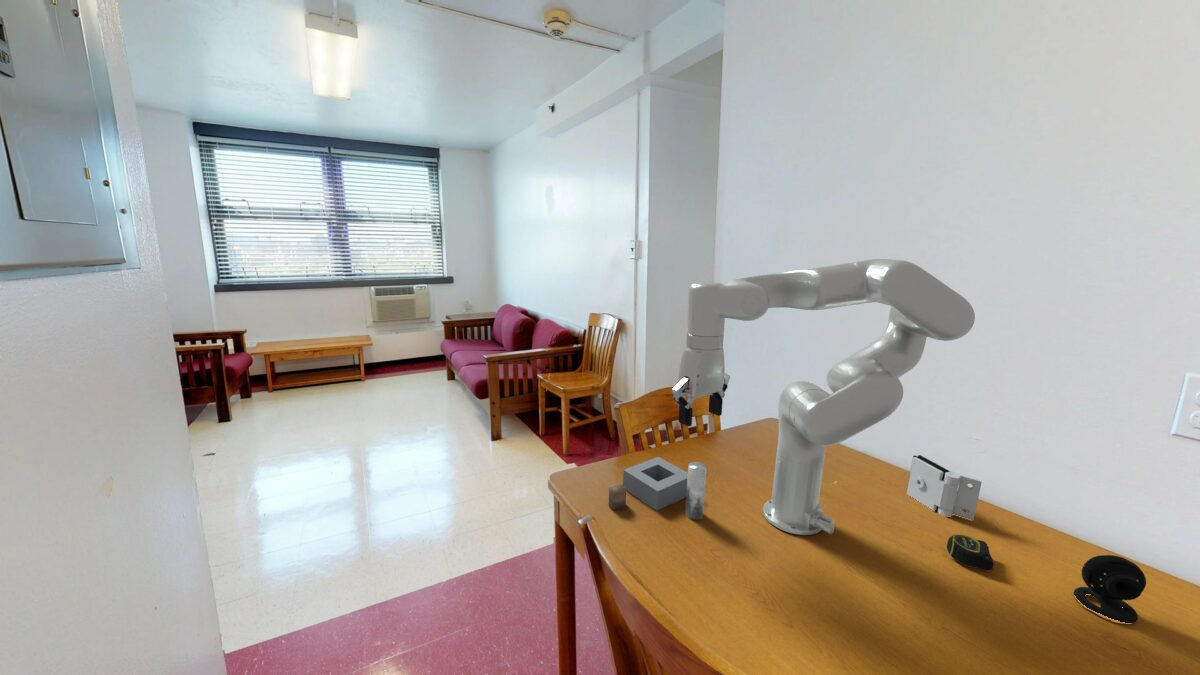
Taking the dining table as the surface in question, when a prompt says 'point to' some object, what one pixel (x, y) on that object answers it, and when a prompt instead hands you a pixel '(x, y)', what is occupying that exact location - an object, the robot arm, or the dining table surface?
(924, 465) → the hinge
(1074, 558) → the dining table surface
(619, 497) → the walnut pin
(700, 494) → the steel pin
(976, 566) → the tape measure
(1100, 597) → the webcam
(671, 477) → the hole block
